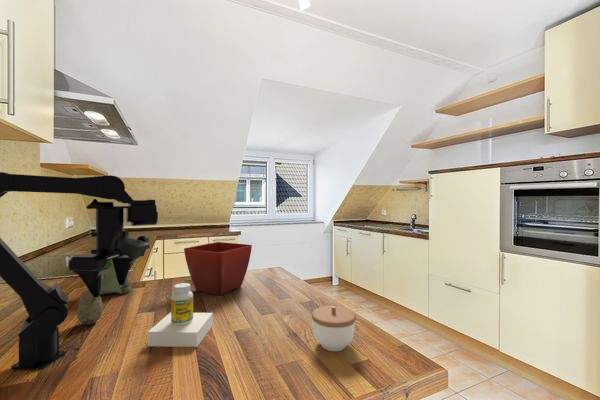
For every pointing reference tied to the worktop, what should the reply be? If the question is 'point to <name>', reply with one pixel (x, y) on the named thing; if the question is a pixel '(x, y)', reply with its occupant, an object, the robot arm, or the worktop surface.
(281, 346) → the worktop surface
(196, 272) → the plant pot
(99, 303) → the decorative egg
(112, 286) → the pouch
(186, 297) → the supplement bottle
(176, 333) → the podium
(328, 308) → the lidded jar
